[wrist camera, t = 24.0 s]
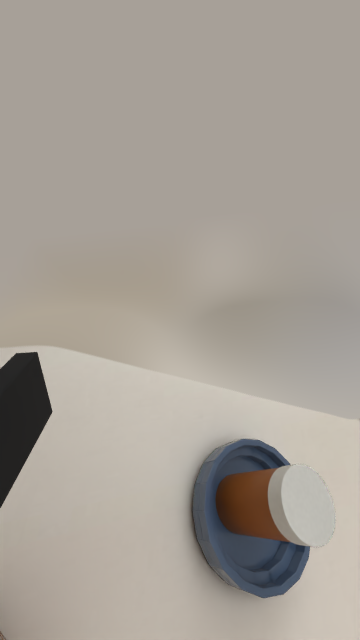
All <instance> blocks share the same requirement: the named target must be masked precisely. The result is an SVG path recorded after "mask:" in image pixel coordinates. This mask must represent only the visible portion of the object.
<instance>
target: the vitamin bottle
mask: <svg viewBox="0 0 360 640" xmlns="http://www.w3.org/2000/svg"><path fill="white" fill-rule="evenodd" d="M216 509H217V513H218V516H219V518H220V520H221V522H222V524H223V525H224V526H225V527H226V528H227V529H228V530H229V531H230V532H232V533H234V534H238V535H245V536H252V537H259V538H265V539H272V540H279V541H286V542H292V543H294V544H297V545H303V546H309V547H322V546H324V545H325V544H327V543H328V542H329V541H330V539H331V538H332V535H333V533H334V529H335V521H336V516H335V507H334V503H333V499H332V496H331V493H330V491H329V489H328V487H327V485H326V483H325V482H324V480H323V479H322V477H321V476H320V475H319V474H318V473H317V472H316V471H315V470H314V469H312V468H311V467H309V466H307V465H304V464H294V465H287V466H282V467H280V468H274V469H266V470H259V471H251V472H244V473H236V474H230V475H228V476H226V477H225V478H224V479H223V480H222V481H221V482H220V484H219V486H218V488H217V492H216Z"/></svg>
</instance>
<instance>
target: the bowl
mask: <svg viewBox="0 0 360 640" xmlns="http://www.w3.org/2000/svg"><path fill="white" fill-rule="evenodd" d="M287 465H290V463H289V462H288V461H287V460H286V459H285V458H284V457H283V456H282V455H281V454H280V453H279V452H278V451H277V450H276V449H275V448H273V447H271V446H269V445H267V444H265V443H264V442H262V441H260V440H251V439H241V440H237V441H234V442H230V443H228V444H226V445H223V446H221V447H219V448H216V449H215V450H214V451H213V452H212V454H211V455H210V456H209V457H208V458H207V459H206V460H205V461H204V463H203V465H202V467H201V470H200V472H199V475H198V477H197V480H196V482H195V486H194V497H193V508H192V510H193V511H192V512H193V518H194V524H195V530H196V536H197V540H198V542H199V544H200V546H201V549H202V551H203V553H204V555H205V557H206V559H207V562H208V564H209V565H210V566H211V567H212V568H213V570H214V571H215V572H216V573H217V574H218V575H219V576H220V577H221V578H222V579H223V580H224V581H225V582H226V583H227V584H228V585H231V586H234V587H236V588H239V589H241V590H244V591H246V592H249V593H251V594H254V595H256V596H259V597H261V598H268V597H273V596H278V595H283V594H284V593H286V592H287V591H288V590H289V589H290V588H291V587H292V586H293V585H294V584H295V583H296V582H297V581H298V580H299V579H300V577H301V575H302V572H303V570H304V568H305V565H306V563H307V561H308V558H309V551H310V547H309V546H303V545H297V544H294V543H292V542H286V541H279V540H272V539H265V538H259V537H252V536H245V535H238V534H234V533H232V532H230V531H229V530H228V529H227V528H226V527H225V526H224V525H223V524H222V522H221V520H220V518H219V516H218V513H217V509H216V492H217V488H218V486H219V484H220V482H221V481H222V480H223V479H224V478H225V477H226V476H228V475H230V474H236V473H244V472H251V471H259V470H266V469H274V468H280V467H282V466H287Z"/></svg>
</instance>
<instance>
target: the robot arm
mask: <svg viewBox="0 0 360 640" xmlns="http://www.w3.org/2000/svg"><path fill="white" fill-rule="evenodd" d="M51 414H52V408H51V404H50V400H49V396H48V392H47V388H46V385H45V381H44V377H43V373H42V369H41V365H40V361H39V357H38V353H37V352H30V353H16V354H15V355H14V356H13V357H12V358H11V359H10V360H9V361H8V362H7V363H6V364H5V365H4V366H3V367H2V368H1V369H0V508H1V506H2V504H3V502H4V501H5V499H6V497H7V495H8V493H9V491H10V489H11V488H12V486H13V484H14V482H15V480H16V478H17V477H18V475H19V473H20V471H21V469H22V467H23V465H24V464H25V462H26V460H27V458H28V456H29V454H30V453H31V451H32V449H33V447H34V445H35V443H36V441H37V440H38V438H39V436H40V434H41V432H42V430H43V428H44V427H45V425H46V423H47V421H48V419H49V417H50V416H51Z"/></svg>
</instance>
